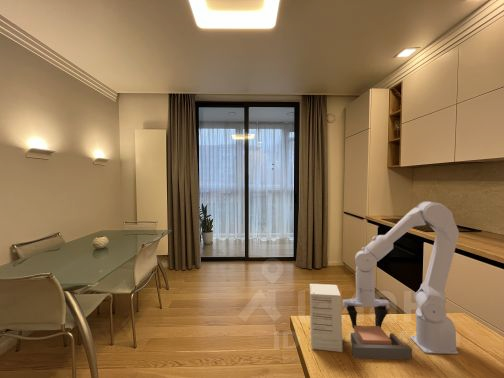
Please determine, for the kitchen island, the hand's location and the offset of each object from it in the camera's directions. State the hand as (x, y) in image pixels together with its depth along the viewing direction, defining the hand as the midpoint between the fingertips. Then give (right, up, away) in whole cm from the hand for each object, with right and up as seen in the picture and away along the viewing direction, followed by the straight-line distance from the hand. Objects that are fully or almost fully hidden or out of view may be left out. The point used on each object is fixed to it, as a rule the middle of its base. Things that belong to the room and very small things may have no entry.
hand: (366, 328), depth 83 cm
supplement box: (-15, -2, -4) cm, 15 cm away
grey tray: (0, -2, -8) cm, 8 cm away
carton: (-1, -2, -5) cm, 6 cm away
